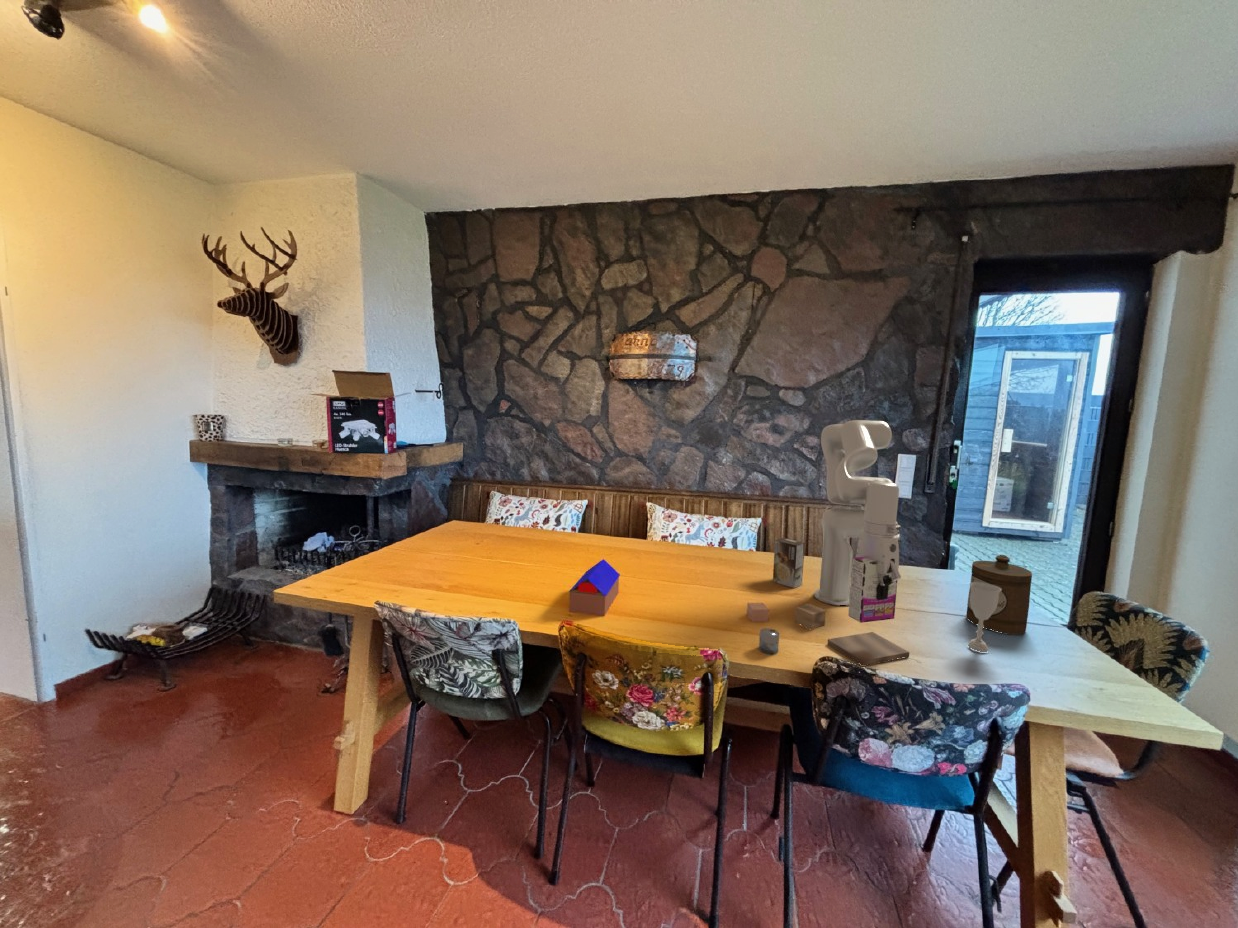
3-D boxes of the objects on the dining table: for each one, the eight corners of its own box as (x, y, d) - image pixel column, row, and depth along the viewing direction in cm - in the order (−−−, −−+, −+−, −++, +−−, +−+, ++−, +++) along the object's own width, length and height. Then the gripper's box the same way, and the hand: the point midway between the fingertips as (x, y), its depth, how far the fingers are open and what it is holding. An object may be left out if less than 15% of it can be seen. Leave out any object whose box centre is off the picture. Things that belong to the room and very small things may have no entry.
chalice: (981, 643, 140) (988, 582, 137) (1000, 655, 133) (1008, 591, 131) (955, 642, 139) (963, 581, 137) (973, 655, 133) (981, 591, 130)
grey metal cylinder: (770, 644, 135) (771, 627, 135) (782, 653, 131) (783, 635, 130) (754, 646, 134) (756, 629, 133) (766, 655, 129) (767, 637, 129)
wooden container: (954, 614, 159) (962, 548, 157) (997, 613, 160) (1006, 548, 158) (992, 635, 145) (1001, 563, 142) (1039, 635, 146) (1049, 563, 143)
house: (619, 593, 169) (620, 560, 168) (605, 617, 150) (606, 580, 149) (586, 589, 172) (586, 557, 171) (567, 612, 153) (568, 576, 151)
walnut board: (872, 636, 142) (872, 631, 141) (908, 657, 130) (909, 651, 130) (827, 644, 136) (827, 639, 136) (861, 666, 125) (862, 660, 125)
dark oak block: (807, 618, 153) (808, 603, 152) (824, 626, 148) (825, 610, 147) (794, 622, 150) (795, 607, 149) (811, 630, 145) (813, 614, 144)
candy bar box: (880, 611, 136) (885, 554, 134) (894, 619, 131) (900, 559, 129) (846, 615, 133) (851, 556, 131) (860, 623, 128) (865, 562, 126)
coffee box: (803, 584, 182) (806, 542, 180) (794, 588, 178) (797, 545, 176) (780, 577, 189) (783, 537, 187) (771, 581, 184) (774, 539, 182)
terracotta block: (762, 614, 155) (762, 602, 154) (768, 621, 150) (769, 609, 149) (746, 615, 154) (747, 602, 154) (752, 622, 149) (753, 609, 149)
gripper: (918, 536, 122) (911, 605, 125) (864, 520, 138) (858, 582, 141) (895, 537, 120) (888, 609, 122) (843, 521, 136) (837, 585, 138)
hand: (872, 594), depth 131 cm, fingers closed on candy bar box, 5 cm apart
